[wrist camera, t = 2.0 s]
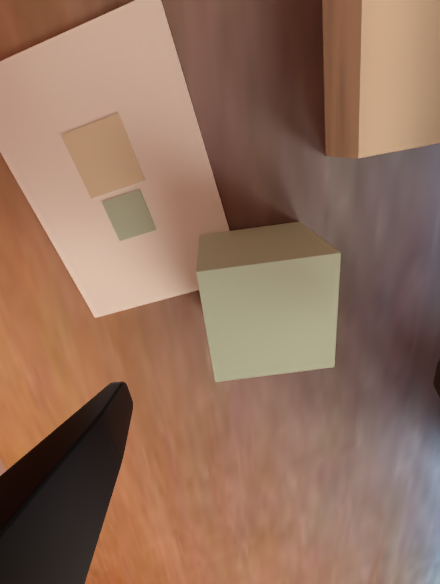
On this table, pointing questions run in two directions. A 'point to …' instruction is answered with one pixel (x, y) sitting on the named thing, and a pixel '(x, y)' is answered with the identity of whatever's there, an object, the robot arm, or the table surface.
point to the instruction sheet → (112, 156)
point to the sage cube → (268, 300)
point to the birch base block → (380, 76)
